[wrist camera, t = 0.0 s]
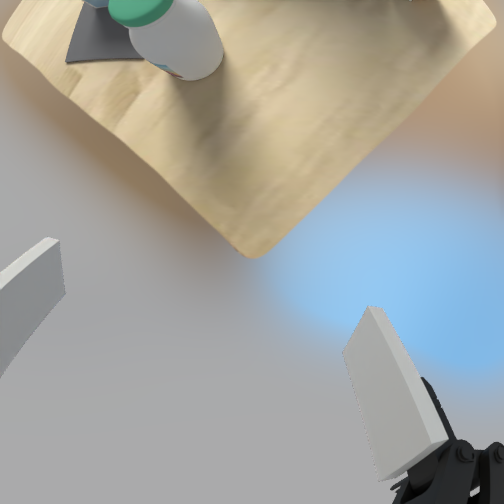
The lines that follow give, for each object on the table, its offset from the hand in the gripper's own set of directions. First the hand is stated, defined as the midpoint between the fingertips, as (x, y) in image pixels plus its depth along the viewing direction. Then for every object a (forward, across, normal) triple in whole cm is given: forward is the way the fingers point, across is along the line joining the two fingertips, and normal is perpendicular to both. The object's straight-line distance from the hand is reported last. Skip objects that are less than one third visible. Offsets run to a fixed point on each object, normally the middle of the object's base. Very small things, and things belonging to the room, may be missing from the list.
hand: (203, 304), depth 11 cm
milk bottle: (+28, -9, +15) cm, 33 cm away
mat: (+28, -23, +24) cm, 44 cm away
